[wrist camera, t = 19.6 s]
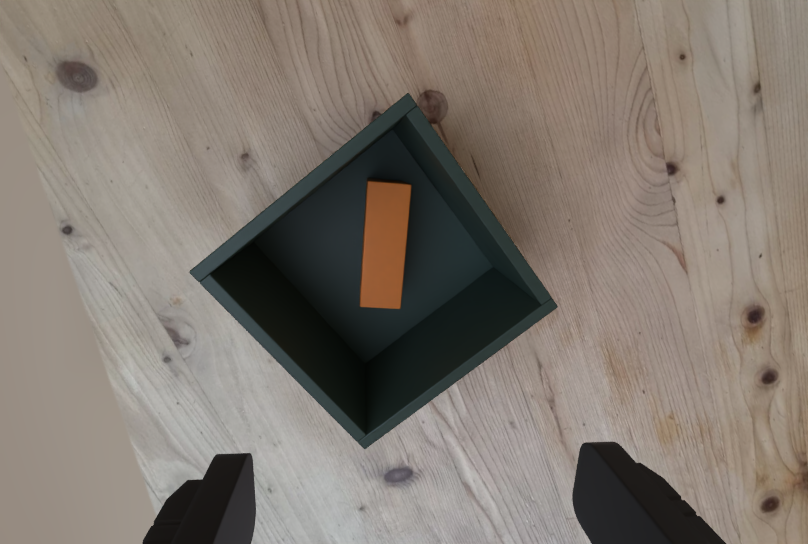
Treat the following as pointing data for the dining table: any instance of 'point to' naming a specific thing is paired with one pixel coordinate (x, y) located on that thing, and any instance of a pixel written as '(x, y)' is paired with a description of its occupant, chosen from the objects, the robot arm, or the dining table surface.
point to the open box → (341, 270)
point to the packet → (384, 243)
